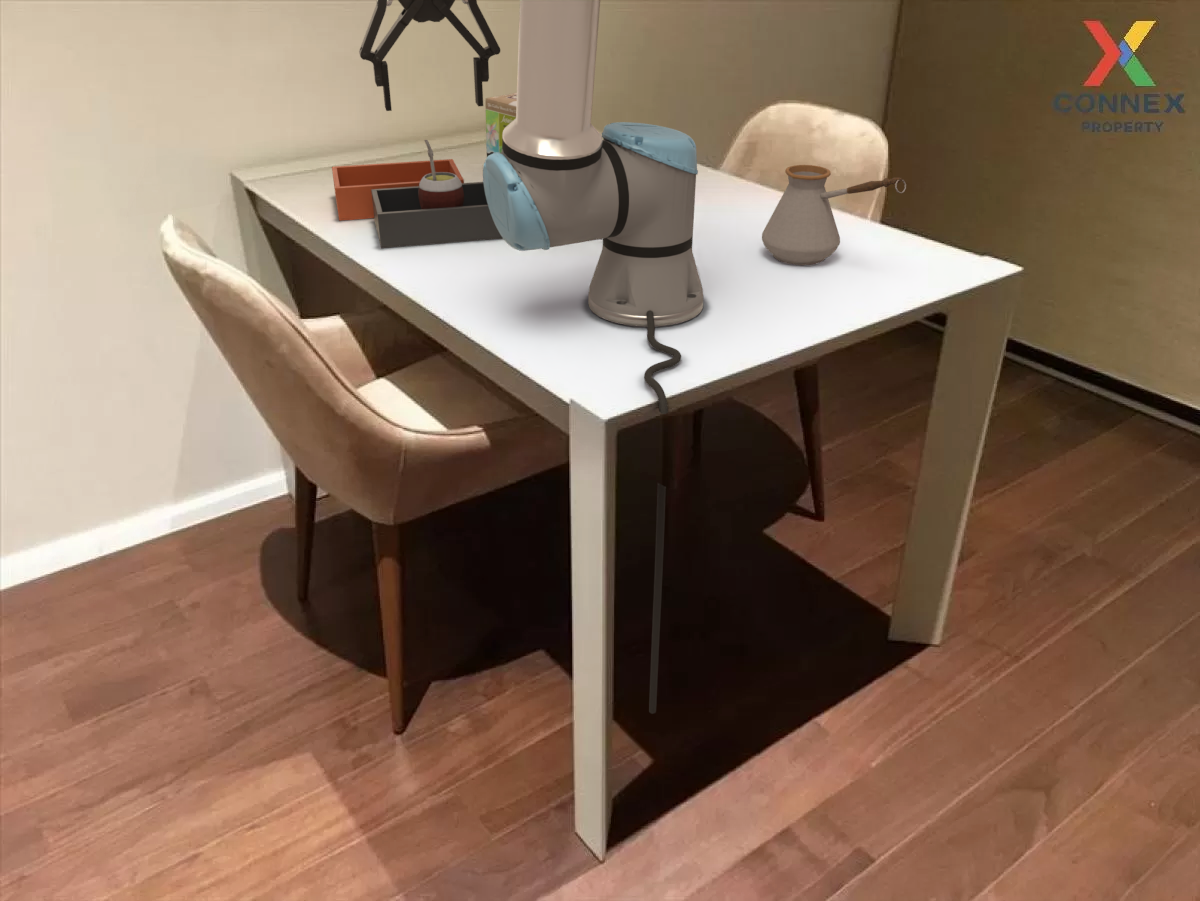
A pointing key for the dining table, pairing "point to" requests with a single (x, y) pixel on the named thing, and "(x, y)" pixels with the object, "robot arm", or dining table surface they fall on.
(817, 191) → the coffee pot
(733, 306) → the dining table surface
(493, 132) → the tea box
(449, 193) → the mate gourd
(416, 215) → the charcoal tote
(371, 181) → the terracotta tote
